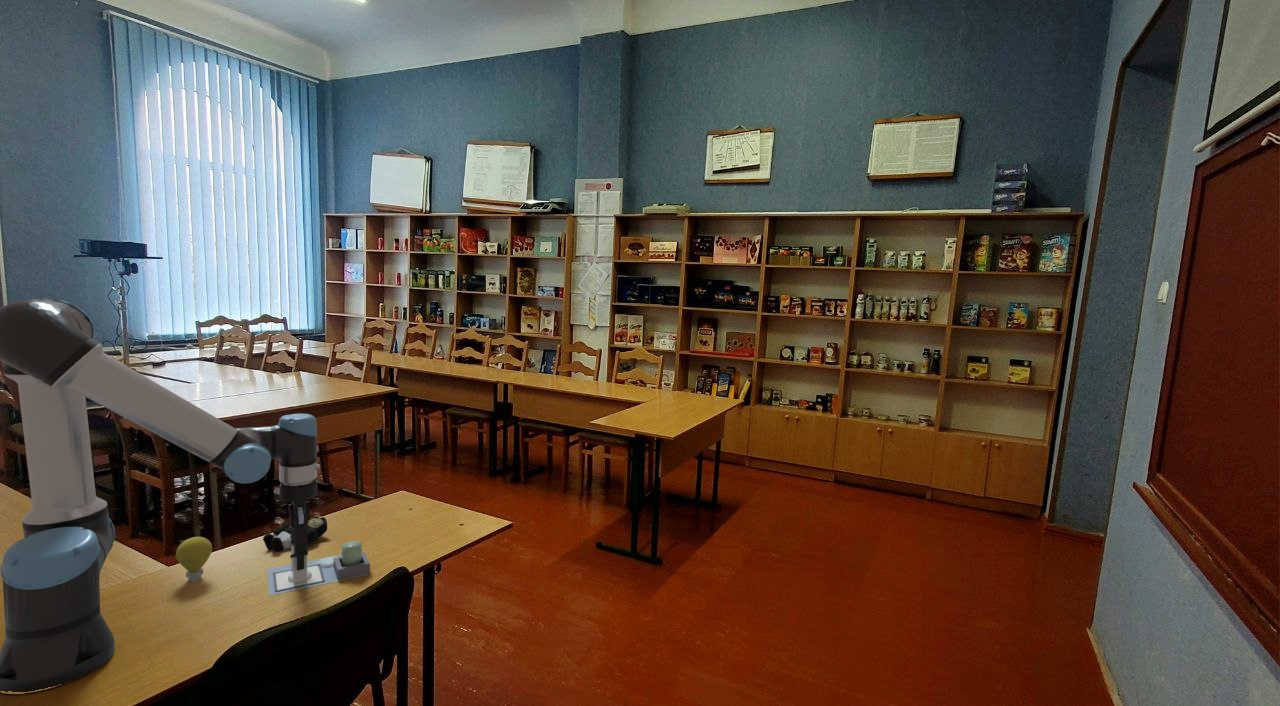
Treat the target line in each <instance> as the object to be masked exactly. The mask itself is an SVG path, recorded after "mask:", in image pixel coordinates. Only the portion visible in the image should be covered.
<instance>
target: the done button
mask: <svg viewBox="0 0 1280 706" xmlns="http://www.w3.org/2000/svg"><path fill="white" fill-rule="evenodd" d="M362 552H363V543H362V542H361V541H360V540H359V541H358V540H353V541H347V542H345V543H343V544H341V555H342V566H350V565H355V564H360V563H361V562H362Z"/></svg>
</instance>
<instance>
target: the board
mask: <svg viewBox="0 0 1280 706" xmlns="http://www.w3.org/2000/svg"><path fill="white" fill-rule="evenodd" d="M307 569H308V570H310V571H311V574H312V576H311V577H310V578H308V579H307V581H303V582H298V583H293V582H291V581H288V575H289V574H290V573H291V564H288V565H283V566H277V567H272V568H271V567H270V568H267V569H266V571H267V581H268V593H269V596H270V597H271V596H275V595H280V594H284V593H288V592H294V591H300V590H303V589H308V588H312V587H318V586H322V585H327V584H331V583H335V582H340V581H344V580H345V581H346V580H350V579H354V578H359V577H364V576H369V574H371V562H370V560H369V558H368V556H367V554H366V552H365V551H364V552H363V551H362V562H361V563H360V564H355V565H350V566H342V554H340V555H335V556H328V557H324V558H319V559H313V560H309V561H308V560H307Z"/></svg>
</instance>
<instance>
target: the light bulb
mask: <svg viewBox="0 0 1280 706" xmlns="http://www.w3.org/2000/svg"><path fill="white" fill-rule="evenodd" d="M212 553H213V546H212V542H211V541H210V540H209V539H207V538H206V537H203V536H193V537H190V538H188V539H185V540H183V542H181V543H180V544H179V545H178V547H177V549H176V552H175V558H176V560H177V562H179V565H181V566H182V567H183V568H184V569H185V570H186V571H185V577H186V578H188V579H187V580H188V582H193V583H194V582H198V581H200V580H201V579H202V575H203V574H204V568H203V566H204V565H206V563H207V561H208V560H209V558H210V557H211V555H212Z"/></svg>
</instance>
